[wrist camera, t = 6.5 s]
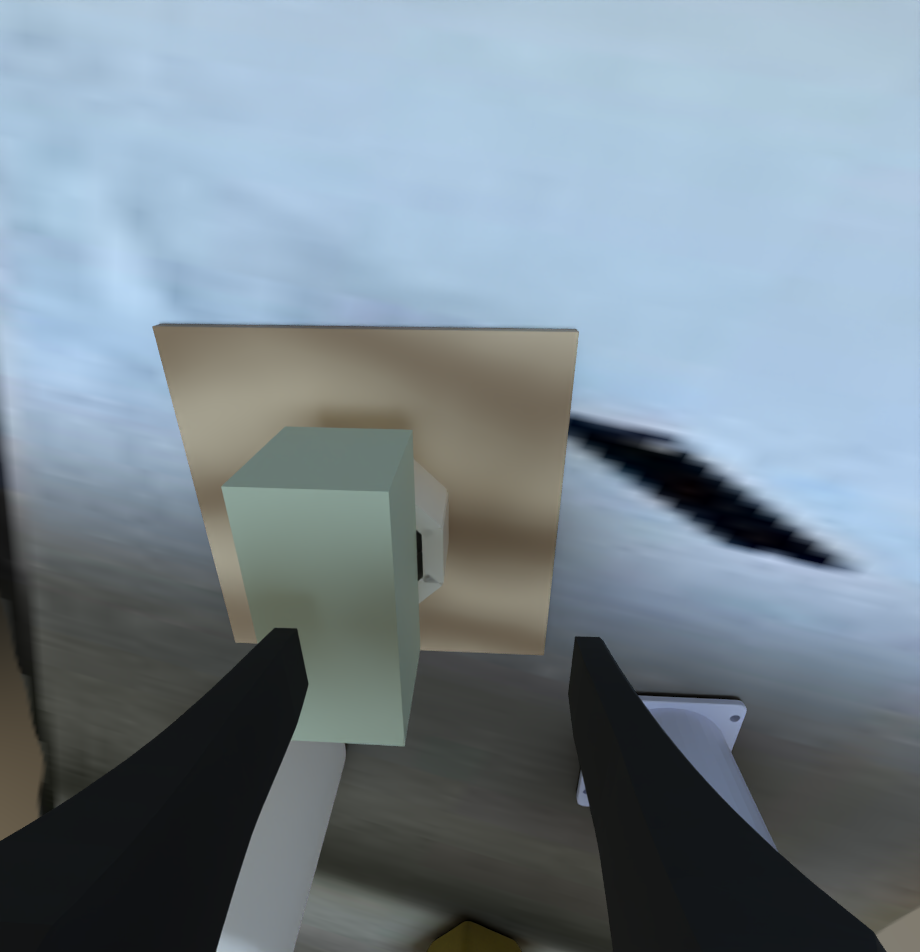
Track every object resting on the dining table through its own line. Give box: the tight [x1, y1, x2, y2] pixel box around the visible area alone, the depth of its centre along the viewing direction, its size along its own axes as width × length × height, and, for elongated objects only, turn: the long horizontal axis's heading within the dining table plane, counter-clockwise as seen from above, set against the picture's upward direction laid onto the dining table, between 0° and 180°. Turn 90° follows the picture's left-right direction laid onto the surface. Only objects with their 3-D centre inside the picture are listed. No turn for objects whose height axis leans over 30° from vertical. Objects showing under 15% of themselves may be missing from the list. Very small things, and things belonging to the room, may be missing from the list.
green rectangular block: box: [221, 426, 420, 746], centre depth 17 cm, size 10×4×4 cm, turn 179°
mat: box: [152, 324, 579, 655], centre depth 22 cm, size 16×16×1 cm
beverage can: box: [216, 740, 346, 952], centre depth 24 cm, size 8×8×12 cm
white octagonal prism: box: [414, 460, 449, 603], centre depth 20 cm, size 6×6×3 cm
